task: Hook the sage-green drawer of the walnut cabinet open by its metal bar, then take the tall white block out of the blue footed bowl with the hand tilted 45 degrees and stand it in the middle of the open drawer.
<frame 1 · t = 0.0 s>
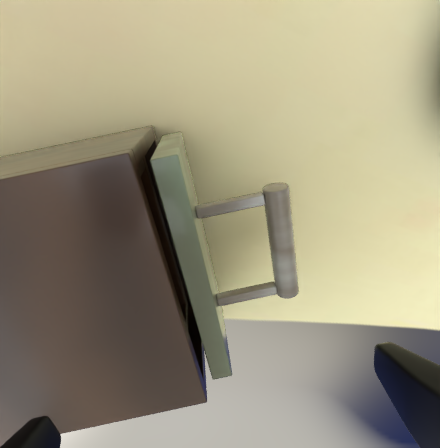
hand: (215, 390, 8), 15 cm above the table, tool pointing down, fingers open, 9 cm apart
cabinet: (68, 251, 22), on the table
drawer: (121, 269, 18), point 4 cm above the table, slide at 0.5 cm
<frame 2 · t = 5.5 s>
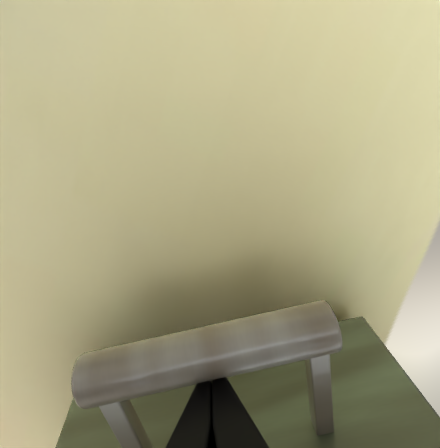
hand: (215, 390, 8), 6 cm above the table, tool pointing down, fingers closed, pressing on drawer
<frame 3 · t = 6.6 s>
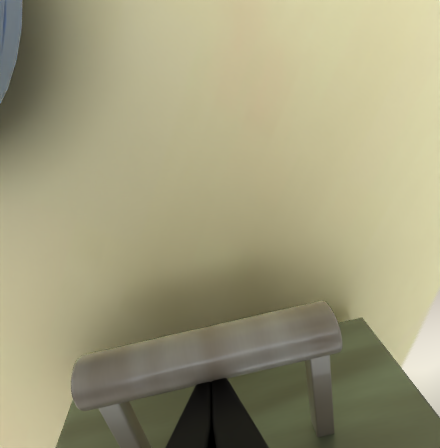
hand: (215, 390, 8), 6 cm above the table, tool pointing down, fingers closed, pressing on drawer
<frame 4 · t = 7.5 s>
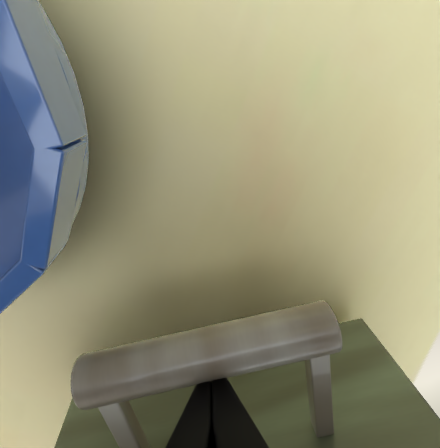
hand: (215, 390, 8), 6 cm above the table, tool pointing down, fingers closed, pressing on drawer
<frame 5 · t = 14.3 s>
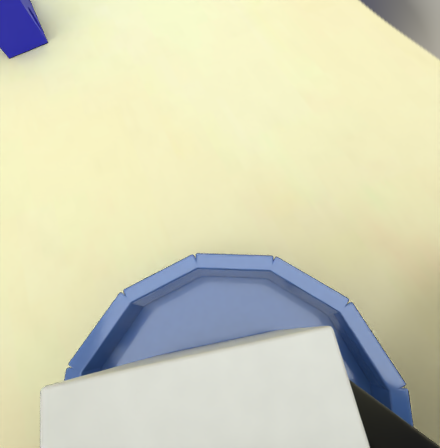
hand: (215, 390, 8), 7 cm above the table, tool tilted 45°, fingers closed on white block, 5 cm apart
white block: (230, 415, 11), point 3 cm above the table, touching blue bowl, gripper
blue bowl: (232, 397, 14), on the table
blue stepped block: (3, 8, 25), on the table
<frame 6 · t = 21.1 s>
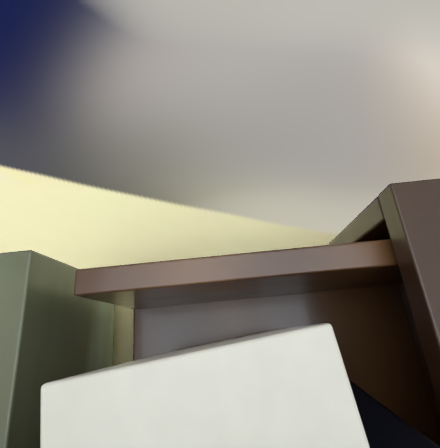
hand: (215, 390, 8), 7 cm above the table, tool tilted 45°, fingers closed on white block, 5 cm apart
white block: (230, 414, 11), point 4 cm above the table, touching gripper
when the fingers open (7 cm above the table, at t = 24.4 s): white block drops 2 cm, resting on drawer.
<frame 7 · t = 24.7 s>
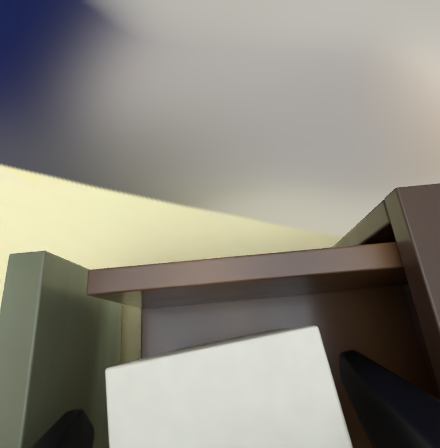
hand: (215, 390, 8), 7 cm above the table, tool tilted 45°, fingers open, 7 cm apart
white block: (236, 402, 13), point 2 cm above the table, touching drawer
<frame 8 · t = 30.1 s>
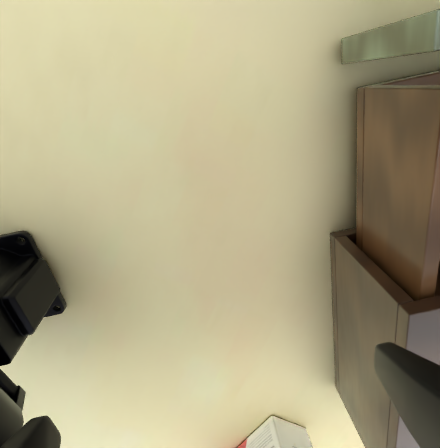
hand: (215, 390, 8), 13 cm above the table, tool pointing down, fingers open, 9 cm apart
cabinet: (418, 301, 25), on the table
ink cartridge box: (263, 442, 32), on the table
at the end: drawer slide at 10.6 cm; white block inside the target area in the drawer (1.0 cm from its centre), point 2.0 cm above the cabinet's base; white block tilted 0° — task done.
